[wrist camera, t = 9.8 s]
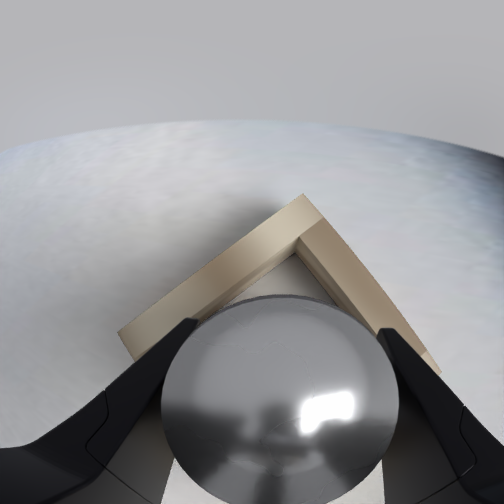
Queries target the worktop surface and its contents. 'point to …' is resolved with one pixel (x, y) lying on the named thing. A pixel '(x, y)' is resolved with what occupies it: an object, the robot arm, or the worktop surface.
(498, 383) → the worktop surface
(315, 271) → the collar
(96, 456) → the robot arm
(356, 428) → the silver metal canister
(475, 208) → the worktop surface
